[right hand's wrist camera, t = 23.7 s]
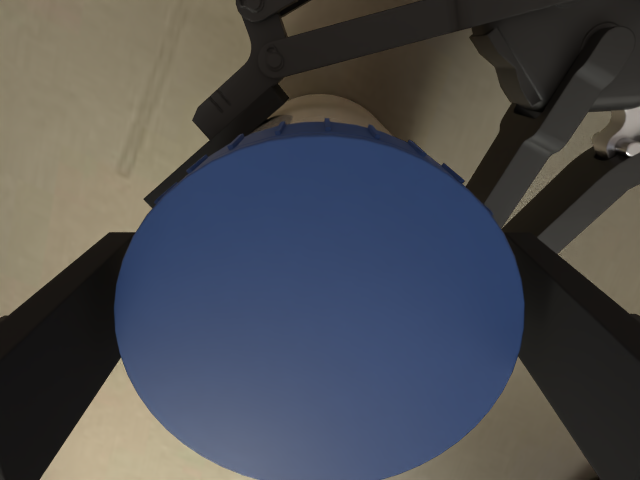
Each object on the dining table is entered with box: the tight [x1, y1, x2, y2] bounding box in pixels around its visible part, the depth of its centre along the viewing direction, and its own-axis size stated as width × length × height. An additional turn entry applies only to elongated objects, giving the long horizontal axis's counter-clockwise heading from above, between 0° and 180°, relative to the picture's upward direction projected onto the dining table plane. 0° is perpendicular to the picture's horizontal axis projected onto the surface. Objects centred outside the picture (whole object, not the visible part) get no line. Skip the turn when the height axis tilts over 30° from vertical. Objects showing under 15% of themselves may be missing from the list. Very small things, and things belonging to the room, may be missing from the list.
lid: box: [114, 118, 525, 480], centre depth 11 cm, size 9×9×2 cm
